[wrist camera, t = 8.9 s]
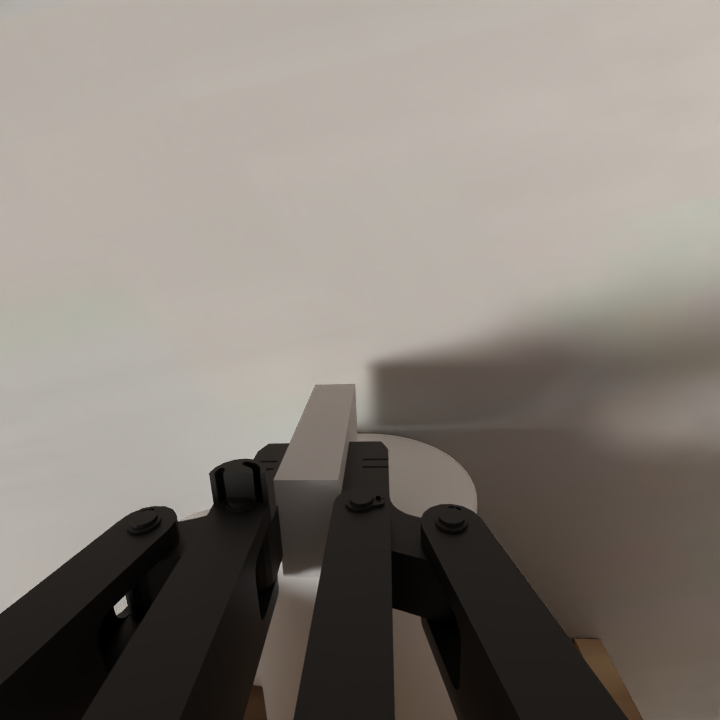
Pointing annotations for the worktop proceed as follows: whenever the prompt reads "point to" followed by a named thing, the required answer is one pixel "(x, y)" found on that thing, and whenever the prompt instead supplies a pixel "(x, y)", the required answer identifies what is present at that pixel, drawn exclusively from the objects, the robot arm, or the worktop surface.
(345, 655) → the robot arm
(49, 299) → the worktop surface
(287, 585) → the mug
